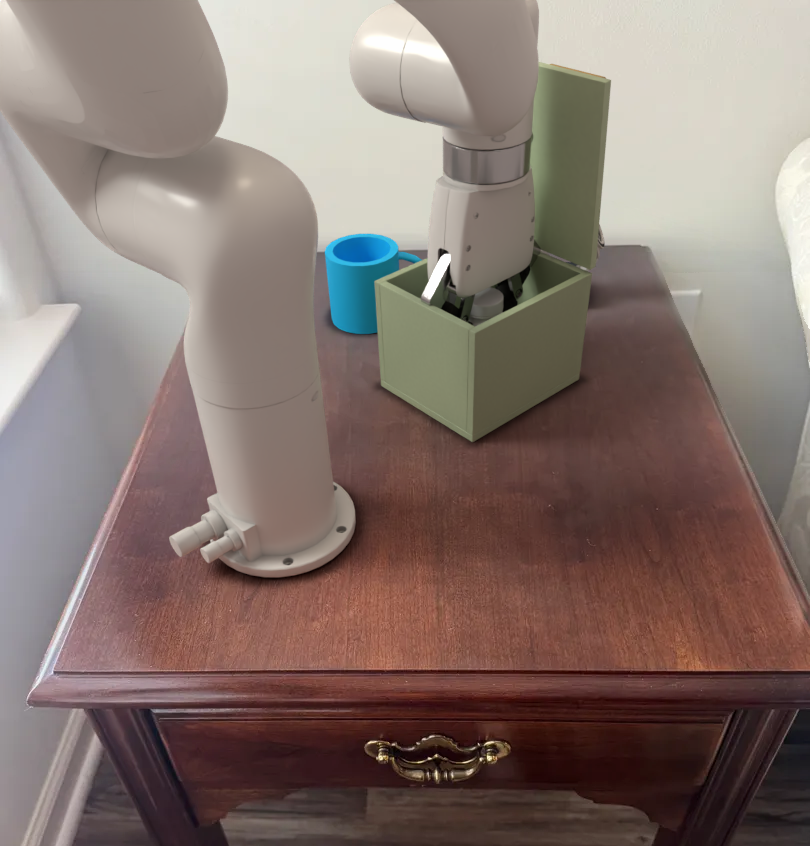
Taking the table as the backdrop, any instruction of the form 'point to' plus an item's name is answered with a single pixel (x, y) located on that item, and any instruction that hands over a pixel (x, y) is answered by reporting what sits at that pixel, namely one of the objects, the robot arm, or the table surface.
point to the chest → (482, 347)
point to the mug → (359, 278)
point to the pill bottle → (486, 306)
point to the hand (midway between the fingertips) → (481, 341)
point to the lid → (569, 161)
